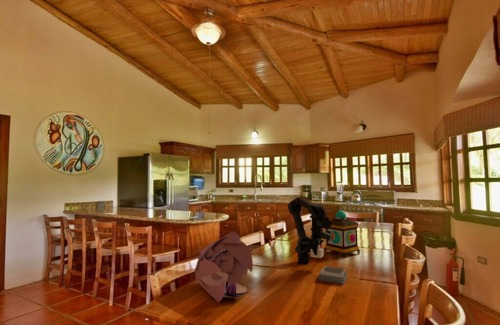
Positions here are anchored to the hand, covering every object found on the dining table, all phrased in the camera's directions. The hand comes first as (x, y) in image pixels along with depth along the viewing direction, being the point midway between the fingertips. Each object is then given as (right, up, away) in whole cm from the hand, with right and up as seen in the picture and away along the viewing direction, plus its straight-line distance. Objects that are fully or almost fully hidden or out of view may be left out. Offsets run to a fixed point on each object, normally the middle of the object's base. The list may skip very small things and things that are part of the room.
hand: (317, 254), depth 159 cm
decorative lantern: (+26, -11, +35) cm, 45 cm away
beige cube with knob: (0, -1, 0) cm, 1 cm away
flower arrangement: (-50, -7, -31) cm, 59 cm away
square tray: (+4, -8, -16) cm, 18 cm away
